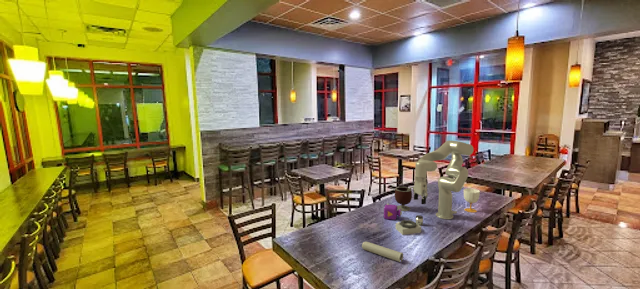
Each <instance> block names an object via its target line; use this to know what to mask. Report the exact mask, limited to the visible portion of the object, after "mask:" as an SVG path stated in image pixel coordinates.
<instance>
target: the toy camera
mask: <svg viewBox="0 0 640 289" xmlns="http://www.w3.org/2000/svg"><path fill="white" fill-rule="evenodd" d="M397 206H398V204H397V205H396V204H391V203H386V204H385V205H384V208H383V218H384V219H386V220H394V221H395V220H397V217H399V218H401V216H402V215H403V211H401V209H399V210H397Z"/></svg>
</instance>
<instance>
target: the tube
mask: <svg viewBox="0 0 640 289" xmlns="http://www.w3.org/2000/svg"><path fill="white" fill-rule="evenodd" d="M361 248H362V249H363V251H366V252H370V253H372V254H374V255H375V254H376V255H377V256H381V257H384V258H387V259H390V260H391V261H396V262H399V263H400V260H401V262H403V259H404V253H403V252H402V251H397V250H393V249H391V248H387V247H385V246H381V245H379V244H375V243H372V242H369V241H364V242H362V244H361Z"/></svg>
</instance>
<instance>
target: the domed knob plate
mask: <svg viewBox="0 0 640 289" xmlns="http://www.w3.org/2000/svg"><path fill="white" fill-rule="evenodd" d="M395 230H396V231H398V232H399V233H400V234H401V235H402V236H405V235H412V234H420V233H422V226H419V225H418V224H417V223H416V221H414V220H410V219H404V220H400V221H397V222H396V223H395Z"/></svg>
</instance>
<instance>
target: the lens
mask: <svg viewBox="0 0 640 289" xmlns="http://www.w3.org/2000/svg"><path fill="white" fill-rule="evenodd" d="M415 223H417V224H418V225H419V226H421V227H423V226H424V216H423V215H420V214H419V215H415Z"/></svg>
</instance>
